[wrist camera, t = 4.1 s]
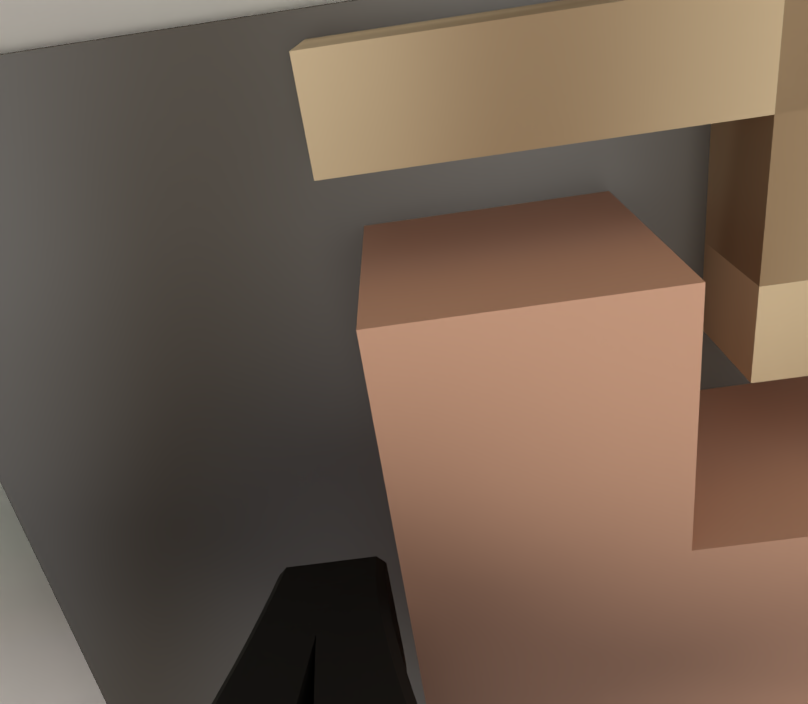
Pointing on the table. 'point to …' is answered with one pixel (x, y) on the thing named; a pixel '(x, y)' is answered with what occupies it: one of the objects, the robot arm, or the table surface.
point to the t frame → (331, 268)
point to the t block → (579, 466)
